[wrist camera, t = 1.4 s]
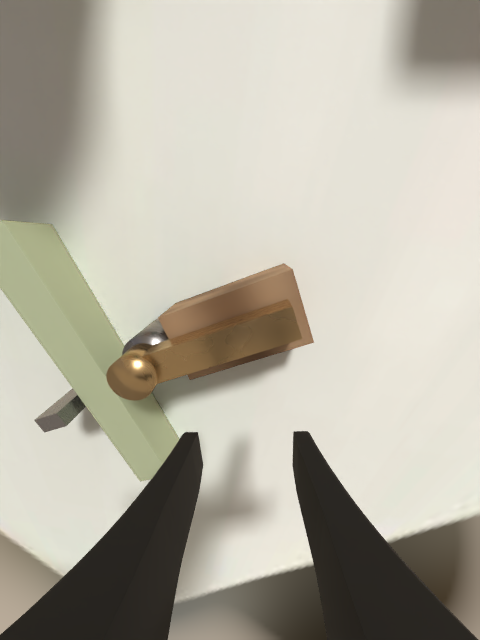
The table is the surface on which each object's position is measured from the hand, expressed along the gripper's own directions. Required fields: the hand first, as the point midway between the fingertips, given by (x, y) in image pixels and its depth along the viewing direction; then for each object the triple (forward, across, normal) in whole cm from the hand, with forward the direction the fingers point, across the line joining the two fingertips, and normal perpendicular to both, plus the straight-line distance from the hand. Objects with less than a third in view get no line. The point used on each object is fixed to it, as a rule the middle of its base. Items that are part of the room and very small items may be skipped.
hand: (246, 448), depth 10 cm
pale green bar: (+9, +12, 0) cm, 15 cm away
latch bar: (+5, +3, -3) cm, 7 cm away
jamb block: (+9, +1, -4) cm, 10 cm away
